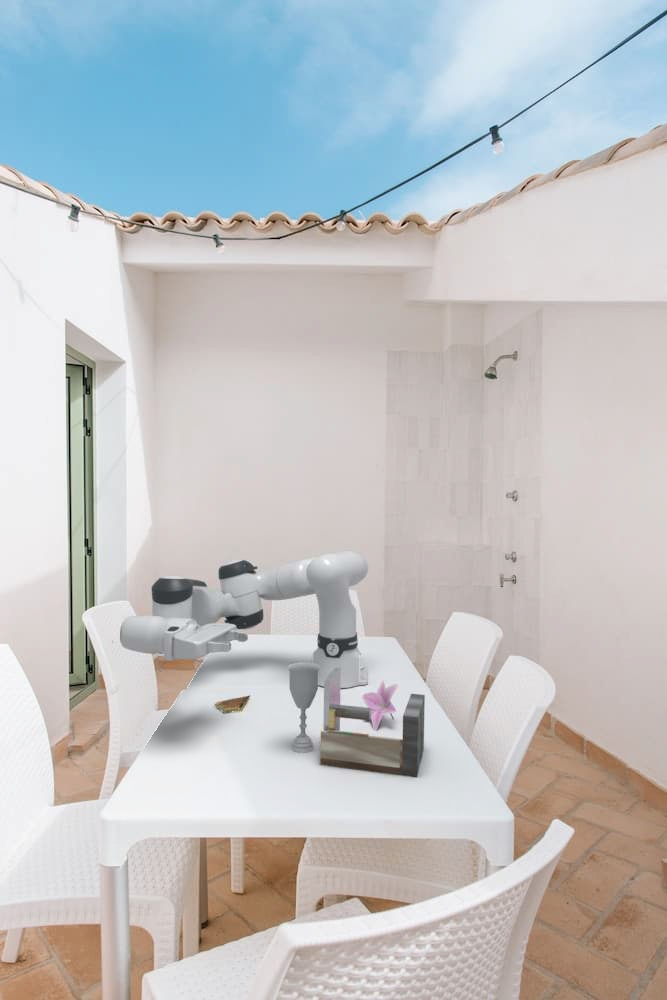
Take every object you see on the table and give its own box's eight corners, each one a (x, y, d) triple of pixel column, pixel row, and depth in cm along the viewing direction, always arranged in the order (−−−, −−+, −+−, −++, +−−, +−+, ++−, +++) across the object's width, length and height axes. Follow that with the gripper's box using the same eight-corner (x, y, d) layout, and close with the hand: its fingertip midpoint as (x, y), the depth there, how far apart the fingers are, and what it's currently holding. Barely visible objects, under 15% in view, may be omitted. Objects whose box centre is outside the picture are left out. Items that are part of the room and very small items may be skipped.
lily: (363, 715, 156) (350, 687, 153) (404, 698, 156) (392, 669, 153) (371, 747, 145) (357, 718, 142) (416, 729, 145) (403, 699, 142)
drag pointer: (329, 751, 126) (330, 709, 126) (335, 752, 126) (335, 709, 126) (328, 754, 125) (328, 711, 125) (333, 755, 125) (334, 711, 125)
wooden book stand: (336, 738, 138) (337, 686, 138) (423, 748, 133) (424, 694, 133) (320, 765, 124) (321, 707, 124) (416, 777, 120) (417, 717, 119)
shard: (250, 700, 164) (250, 693, 164) (263, 708, 158) (264, 701, 158) (213, 708, 158) (213, 701, 158) (226, 717, 152) (226, 710, 152)
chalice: (319, 741, 136) (320, 662, 136) (319, 754, 130) (320, 671, 130) (286, 741, 136) (288, 662, 136) (285, 754, 129) (286, 671, 129)
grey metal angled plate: (334, 733, 136) (335, 667, 136) (373, 737, 134) (374, 670, 134) (321, 753, 125) (322, 682, 125) (363, 758, 123) (365, 686, 123)
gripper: (204, 640, 150) (255, 645, 147) (160, 662, 131) (219, 668, 127) (204, 615, 150) (256, 619, 147) (161, 633, 131) (219, 638, 127)
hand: (238, 642), depth 137 cm, fingers open, 8 cm apart
